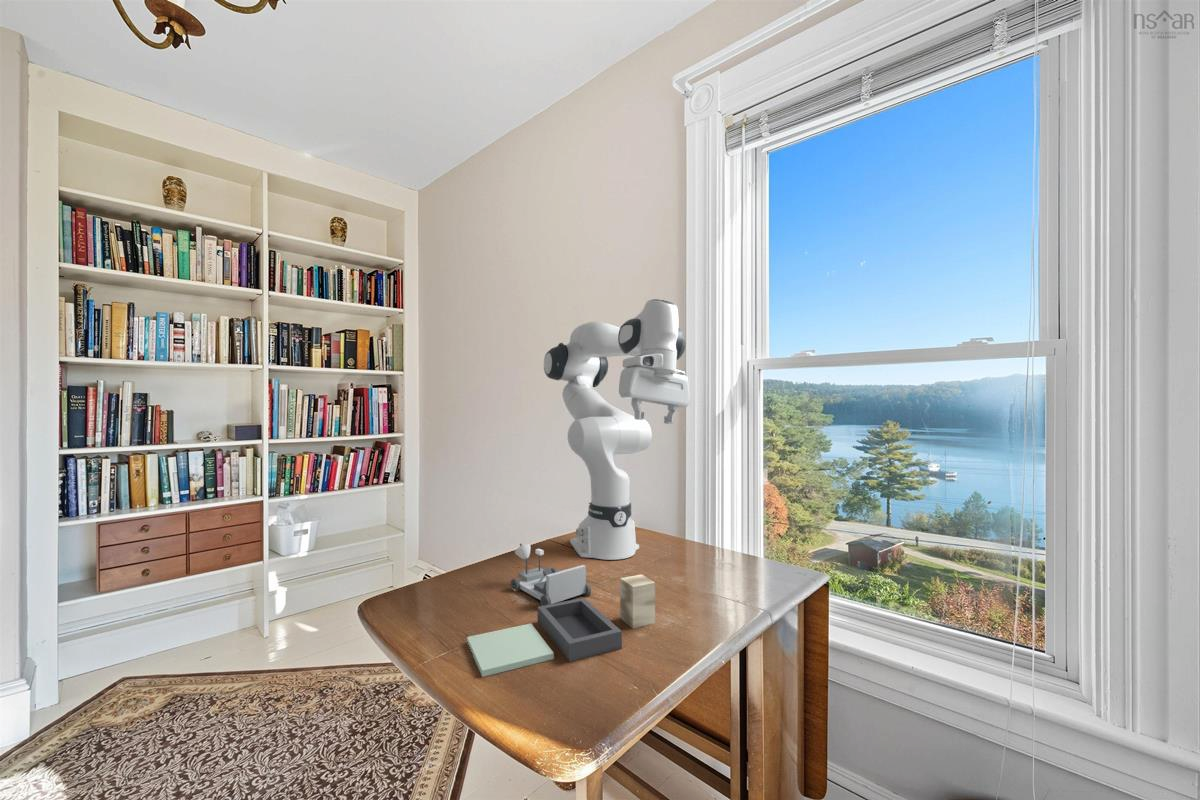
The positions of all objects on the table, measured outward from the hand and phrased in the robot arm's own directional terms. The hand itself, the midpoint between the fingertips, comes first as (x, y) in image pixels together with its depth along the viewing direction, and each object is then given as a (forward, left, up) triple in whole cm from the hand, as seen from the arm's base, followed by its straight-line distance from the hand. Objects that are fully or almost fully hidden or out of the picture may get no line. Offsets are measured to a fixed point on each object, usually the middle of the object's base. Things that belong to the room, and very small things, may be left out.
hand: (654, 421), depth 115 cm
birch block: (+15, -13, -39) cm, 44 cm away
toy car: (-7, -24, -39) cm, 47 cm away
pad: (+15, -39, -39) cm, 57 cm away
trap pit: (+15, -26, -39) cm, 49 cm away
